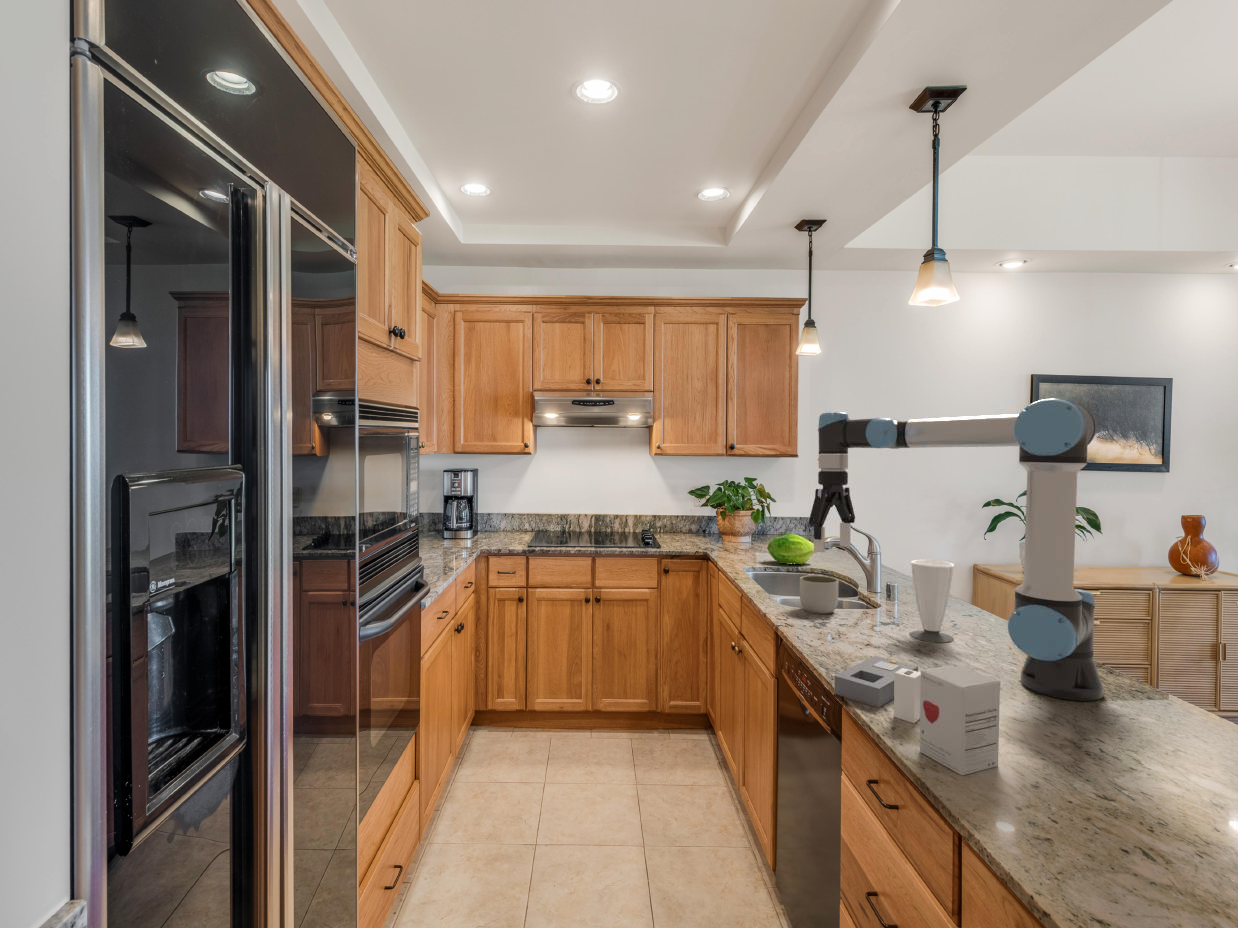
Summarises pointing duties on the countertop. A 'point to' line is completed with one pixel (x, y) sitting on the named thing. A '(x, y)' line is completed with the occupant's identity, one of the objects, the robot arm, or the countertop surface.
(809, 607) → the planter
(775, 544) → the green oval fruit
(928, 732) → the supplement box
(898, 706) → the block
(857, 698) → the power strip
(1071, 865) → the countertop surface
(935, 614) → the cup
